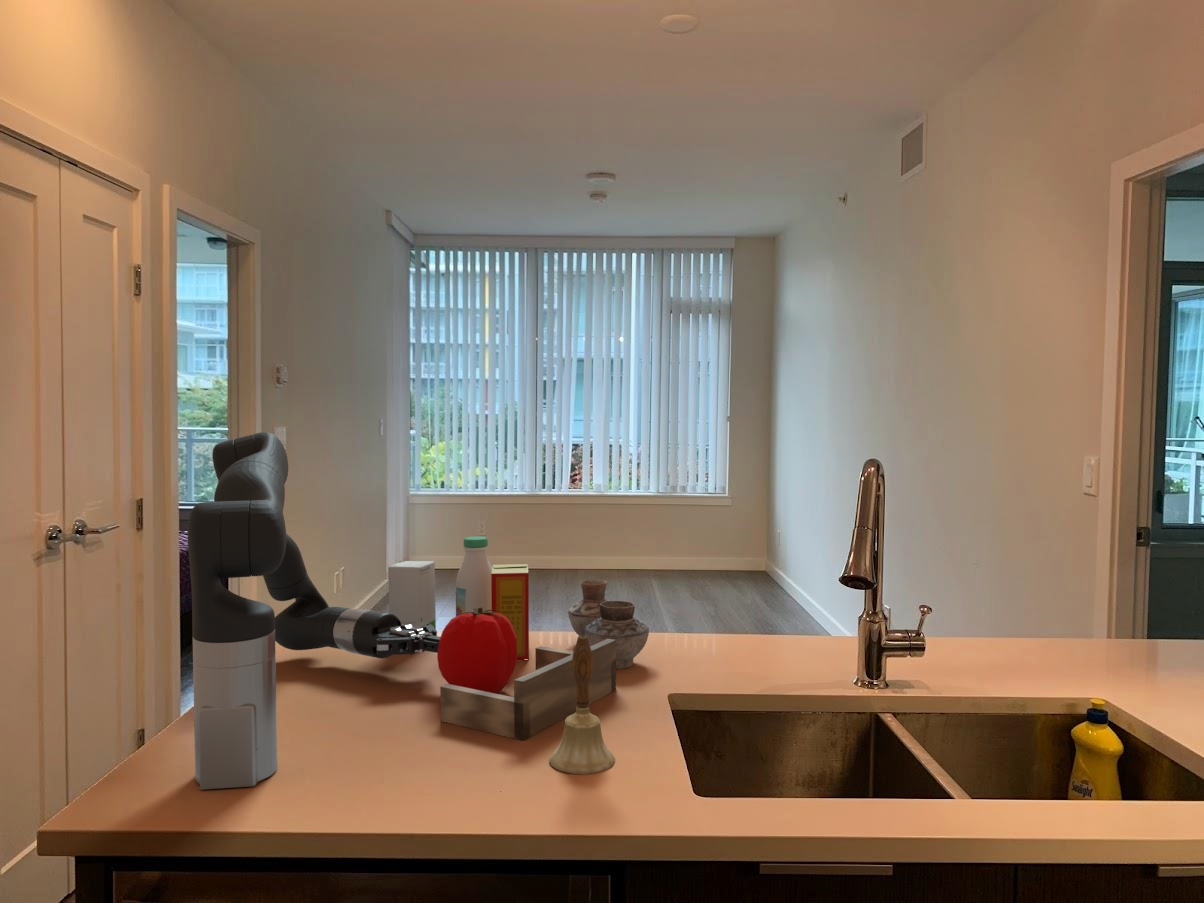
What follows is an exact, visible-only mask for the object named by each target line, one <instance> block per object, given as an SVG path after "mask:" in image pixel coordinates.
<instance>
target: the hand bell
mask: <svg viewBox="0 0 1204 903" xmlns="http://www.w3.org/2000/svg"><path fill="white" fill-rule="evenodd" d="M572 666H573V673H574V677H575V681H576V686H577V693H576V712H575V713H573V714H571V715H569V716H567V717H566V718H565V720H564V727H563V728H564V729H563V734H562V736H561V740H560V742H559V744H558V746H557V748H556V749H554V751H552V752H551V754H550V756H549V759H548V762H549V764H550V766H551V767H552V768H554V769H555V770H558V771H559V772H563V773H567V774H573V775H591V774H598V773H601V772H605V771H607V770H609V769H610V768H612V767H613V766H614V764H615V762H616V758H615V756H614V754H613V753H612V751H611V750H610V749H608V747H607V745H606V744H605V741H604V738H603V734H602V728H601V720H600V718H599V717H598V716H597V715H595V714H592V713H591V711H590V704H589V682H590V678H591V675H592V669H593V655H592V651H591V647H590V645H589V641H588V637H587V636H579V635H577V639H576V643H575V645H574V649H573V658H572Z"/></svg>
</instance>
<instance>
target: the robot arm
mask: <svg viewBox="0 0 1204 903" xmlns="http://www.w3.org/2000/svg"><path fill="white" fill-rule="evenodd" d="M212 463H213V468H214V472H215V473H214V474H215V475H216V479H217V480H218V482H217V485H216V487H215V491H214V497H213V501H204V502H199V503H196V504H195V505H194V506H193V507H192V509H191V511H190V512H189V516H188V521H187V551H188V559H189V561H188V562H189V573H190V585H191V586H190V588H191V603H192V605H191V608H192V609H191V612H192V613H191V614H192V616H191V618H192V620H191V622H192V623H191V626H192V627H191V628H192V630H191V631H192V633H191V634H192V635H191V636H192V677H193V678H192V679H193V680H192V681H193V682H192V683H193V724H194V725H193V728H194V732H193V733H194V766H195V767H194V768H195V769H194V770H195V772H194V773H195V774H194V775H195V782H196V783H197V784H199V790H213V789H214V790H215V789H228V788H245V787H255V786H257V783H259V782H261V781H262V780H266V778H268V777H271V776H272V775H273V774H274V773H275V772H276V771H277V769H278V731H277V719H278V718H277V675H276V674H277V670H276V669H277V667H276V665H277V664H276V663H277V662H276V661H277V660H276V643H277V644H278V645H279V646H282V647H283V648H284V649H287V650H291V651H308V650H315V649H322V648H331V649H332V648H333V649H337V650H343V651H346V652H349V653H351V654H355V655H361V656H366V657H371V658H377V659H386V658H389V657H391V656H394V655H395V656H396V655H397V656H398V655H414V654H415V653H416V652H417V653H424V652H432V653H438V647H439V641H440V637H441V636H438V635H437V633H438V631H437V628H436V629H435V628H434V627H433V626H432V625H431V624H425V625H424V626H423V629H422V628H417V627H413V626H411V625H410V624H401V622H400V620H399V619H398V618H397V617H396V616H395V615H394V614H391V613H389V612H385V611H379V610H378V611H377V610H371V609H364V608H347V607H341V606H329V604H328V602H327V601H326V600H325V598H324V597H323V596H322V595H321V593H320V591H318V589H317V587H316V585H315V584H314V583H313V582H312V580H311V578H310V576H309V575H308V572H307V568H306V565H305V561H304V559H303V556H302V553H301V550H300V547H298V544H297V543H296V541H295V540H294V539H293V538H292V537H291V536H290V535H289V534H288V533H287V528H286V527H287V526H286V521H285V517H284V516H285V515H284V507H285V501H286V500H285V498H286V496H285V494H286V493H285V492H286V490H285V484H286V482H287V479H288V476H289V460H288V456H287V452H286V449H285V446H284V444H283V442H282V441H281V440H280V438H279V437H278V436H277V435H275V434H274V433H272V432H270V431H269V432H267V431H266V432H264V431H263V432H257V433H253V434H249V435H245V436H241V437H237V438H234V439H233V438H232V439H229V440H225V441H222V442H219V443H216V444H215V445H214V447H213V449H212ZM250 577H263V580H264V584H265V585H266V589H267V592H268V593H269V595H270V597H271V598H272V599H274V600H275V601H277V602H278V601H279V602H286V601H291V600H294V599H295V600H294V602H292V603H291V604H289V605H288V606H287V607H286V608H284V609H283V610H282V611H280V612H279V613H278V614H277V615H276V614H275V611H274V608H273V607H271V606H270V605H269V604H267V603H265V602H261V601H259V600H258V601H257V600H253V599H250V598H246V597H245V596H240V595H238V594H236V593H234V592H232V591H231V590H229V589H227V588H226V586H224V585H223V584H222V581H221V579H232V578H233V579H236V578H250Z"/></svg>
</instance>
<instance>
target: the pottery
mask: <svg viewBox="0 0 1204 903" xmlns="http://www.w3.org/2000/svg"><path fill="white" fill-rule="evenodd" d="M580 585H581V586H580V587H581V590H582V598H581V600H579V601H578V602H576V603H575V604H574V605H572V606H571V607H570V608H569V609H567V613H568V618H569V621H570V625H571V627H572V630H573V631H574V633H576V635H577V636H587V637H588V641H589V645H590V646H592V645H595V644H597V643H599V642H601V641H604V640H606V639H614V640H616V670H618V669H619V670H621V669H628V668H630V667H632V666H633V665H634V658H636V657H637V656H638V654H640V653H641V651H642V650H643V649H644V647H645V646H646V644H647V642H648V638H649V633H650V628H649V627H648V625H647V624H645V623H644V622H642V621H641V620H639V619H637V618H636V617H634V615H635V608H636V606H635V605H636V603H634V602H631V601H625V600H624V601H623V600H607V599H606V595H605V594H606V589H607V580H604V579H596V578H595V579H592V578H590V579H584V580H581V581H580Z"/></svg>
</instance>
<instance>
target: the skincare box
mask: <svg viewBox="0 0 1204 903" xmlns="http://www.w3.org/2000/svg"><path fill="white" fill-rule="evenodd" d="M435 567H436V565H435V561H434V560H431V561H430V560H427V561H426V560H423V561H421V560H415V561H414V560H405V561H401V562H397V563H394V564H392V565H389V566H387V569H388V571H387V572H388V574H387V576H388V613H391V614H394V615H395V616H396V617H397V618H398V619H399V620H400V622H401V624H410V625H411V626H413V627H417V628H422V629H423V626H424V625H425V624H431V625H432V626H433V627H434V628H435V629H436V630H437V619H436V617H437V614H436V572H435V569H436V568H435Z"/></svg>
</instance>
